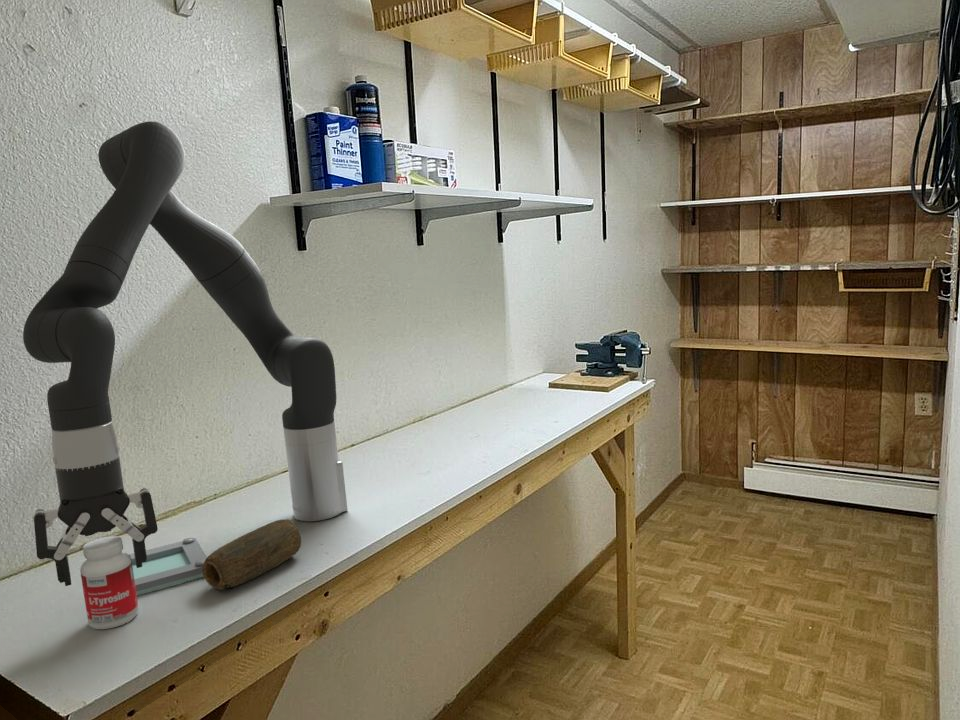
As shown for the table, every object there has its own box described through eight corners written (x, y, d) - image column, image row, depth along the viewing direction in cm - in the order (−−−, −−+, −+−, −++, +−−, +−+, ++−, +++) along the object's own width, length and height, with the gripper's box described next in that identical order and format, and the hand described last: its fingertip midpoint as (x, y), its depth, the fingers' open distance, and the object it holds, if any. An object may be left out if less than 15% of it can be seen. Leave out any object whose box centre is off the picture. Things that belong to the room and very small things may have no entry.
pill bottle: (86, 635, 92) (73, 555, 91) (91, 615, 98) (78, 540, 96) (138, 622, 95) (126, 544, 93) (140, 604, 100) (128, 530, 99)
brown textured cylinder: (275, 551, 116) (271, 512, 115) (307, 557, 113) (302, 517, 112) (199, 591, 103) (193, 548, 102) (232, 600, 100) (226, 555, 99)
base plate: (196, 546, 121) (195, 535, 120) (212, 574, 109) (211, 562, 108) (104, 570, 113) (103, 558, 113) (111, 602, 102) (109, 589, 101)
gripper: (143, 443, 100) (157, 552, 102) (24, 463, 93) (43, 580, 95) (149, 453, 94) (164, 569, 96) (22, 475, 87) (42, 600, 89)
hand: (104, 574), depth 95 cm, fingers open, 8 cm apart
